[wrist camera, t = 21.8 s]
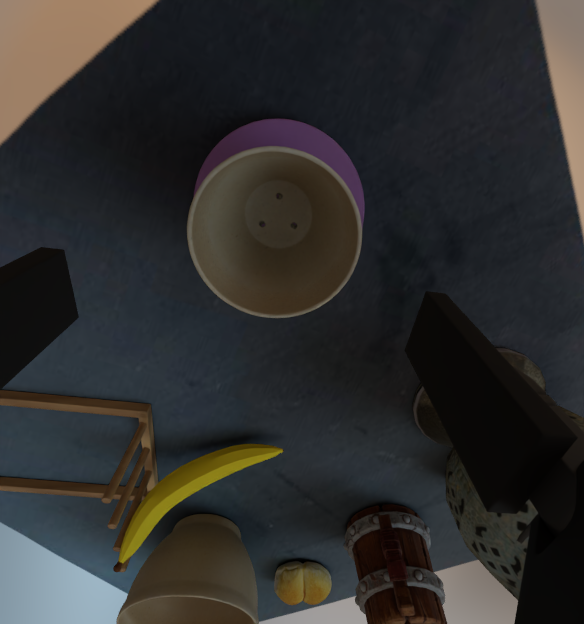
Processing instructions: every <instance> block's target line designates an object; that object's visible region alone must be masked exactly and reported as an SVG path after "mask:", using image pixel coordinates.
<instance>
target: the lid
mask: <svg viewBox="0 0 584 624" xmlns="http://www.w3.org/2000/svg"><path fill="white" fill-rule="evenodd" d="M263 146H281V147H288V148H293V149H297V150H300V151H303V152H306V153H308V154H311V155H313V156H314V157H316V158H318V159H320V160H321V161H323V162H324V163H326V164H327V165H328V166H330V167H331V168H332V169H333V170H334V171H335V172H336V173H337V174H338V175H339V176H340V177H341V178H342V179H343V181H344V182H345V183H346V185H347V186H348V188H349V189H350V191H351V193H352V195H353V197H354V199H355V202H356V204H357V207H358V210H359V213H360V218H361V225H362V226H363V220H364V194H363V190H362V185H361V181H360V179H359V176H358V173H357V171H356V169H355V167H354V165H353V163H352V161H351V159H350V158H349V157H348V155H347V154H346V153H345V151H344V150H343V149H342V148H341V147H340V146H339V145H338V144H337V142H336V141H334V140H333V139H332V138H331V137H329V136H328V135H327V134H326V133H324V132H322V131H320V130H319V129H317V128H315V127H313V126H311V125H308V124H306V123H303V122H299V121H295V120H290V119H278V118H277V119H264V120H260V121H256V122H252V123H249V124H247V125H244V126H242V127H240V128H238V129H236V130H235V131H233V132H231V133H230V134H228V135H227V136H226V137H225V138H223V139H222V140H221V141H220V142H219V143H218V144H217V145H216V146H215V147H214V148H213V149H212V151H211V152H210V154H209V155H208V157H207V158H206V159H205V161H204V163H203V165H202V167H201V169H200V172H199V175H198V178H197V181H196V185H195V190H194V196H195V194H196V192H197V190H198V188H199V186H200V185H201V183H202V182H203V180H204V179H205V178H206V177H207V175H208V174H209V173H210V172H211V171H212V170H213V169H214V168H215V167H216V166H218V165H219V164H220V163H222V162H223V161H225V160H226V159H228V158H229V157H231V156H233V155H235V154H237V153H239V152H242V151H245V150H248V149H252V148H257V147H263ZM278 197H279V195H278V194H277V198H278ZM293 224H294V225H296V224H295V223H293ZM261 226H262V227H263V226H265V224H262V225H261Z"/></svg>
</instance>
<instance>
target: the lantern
mask: <svg viewBox="0 0 584 624" xmlns="http://www.w3.org/2000/svg"><path fill="white" fill-rule="evenodd" d="M496 349H497V350H498V351H499V352H500V353H501V354H502V356H503V357H504V358H505V359H506V360H507V361H508V362H509V363H510V364H511V365H512V366H513V367H516V368H518V369H519V370H521V371H522V372H524V373H525V374H526V375H528V376H529V377H531V378H532V379H534V380H535V381H536V382H537V384H538V385H539V386H540V387H541V388H542V389H543V390H544V391H545V385H546V382H545V380H544V377H543V375H542V373H541V370H540V368H539V367H538V366H537V365H535V364H534V363H533V362H532V361H531V360H530V359H528V358H527V357H526V356H525V355H524V354H521V353H518V352H515V351H512V350H509V349H506V348H496ZM412 407H413V413H414V419H415V422H416V424H417V425H418V427H419V428H420V430H421V431H422V433H423V434H424V435H425V436H426V437H428V438H429V439H431V440H432V441H434V442H435V443H437V444H440V445H444V446H448V447H451V448H452V450H451V451H450V453H449V455H448V457H447V465H446V473H445V475H446V500H447V503H448V505H449V507H450V510H451V512H452V514H453V517H454V519H455V522H456V524H457V526H458V529H459V531H460V533H461V535H462V537H463V539H464V541H465V543H466V545H467V547H468V548H469V549H470V551H471V552H472V553H473V554H474V555H475V556H476V557H477V558H478V560H479V561H480V562H481V563H482V564H483V565H484V566H485V568H486V569H487V570H488V571H489V572H490V573H491V574H492V575H493V576H494V577H495V578H496V579H497V580H498V581H499V582H500V583H501V584H502V585H503V586H504V587H505V588H506V589H507V590H508V591H509V592H510V593H511V594H512V595H513V596H514V597H515V598H516V599H517V600H519V594H520V588H521V582H522V576H523V570H524V564H525V558H526V552H527V546H528V540H529V538H526V539H525V540H524V542H523V543H522V544H521V543H520V542H518V541H517V539H518V537H519V535H520V534H521V533H522V531H523V530H524V529H525V528H526V527H527V526H528V524H529V523H530V522H531V521H532V520H533V519H534V517H535V516H536V515H537V514H538V512H537V510H536V509H535V507H534V506H533V504H532V503H531V501H530V499H528V501H527V502H526V503H525V504H524V506H523V507H522V508H521V509H520V511H519V512H518V513H517V514H509V513H494V512H487V511H486V509H485V507H484V505H483V503H482V501H481V499H480V497H479V495H478V493H477V491H476V489H475V487H474V485H473V483H472V482H471V480H470V478H469V476H468V474H467V472H466V470H465V468H464V466H463V464H462V462H461V460H460V458H459V456H458V454H457V452H456V450H455V448H454V446H453V444H452V442H451V440H450V438H449V436H448V434H447V432H446V431H445V429H444V427H443V425H442V423H441V421H440V419H439V417H438V415H437V413H436V411H435V409H434V407H433V405H432V403H431V401H430V399H429V397H428V395H427V393H426V391H425V389H424V387H423V385H422V383H421V384H420V386H419V387H418V389H417V390H416V393H415V397H414V401H413V405H412ZM557 407H560V406H557ZM560 408H561V409H562V410H563V411H564V412H565V413H566V414H567V415H568V416H569V417H570V418H571V419H572V420H573V421H574V422H575V423H576V424H577V425H578V426H579V427H580V429H581V430H582V431H583V432H584V418H583V417H581V416H579V415H577V414H574V413H572V412H570V411H568V410H566V409H564V408H562V407H560Z"/></svg>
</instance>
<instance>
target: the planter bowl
mask: <svg viewBox="0 0 584 624" xmlns="http://www.w3.org/2000/svg"><path fill="white" fill-rule="evenodd" d="M117 624H259V622H258V614H257V586H256V579H255V574H254V569H253V566H252V563H251V560H250V557H249V555H248V552H247V550H246V548H245V546H244V545H243V543H242V541H241V533H240V530H239V528H238V527H237V526H236V525H235V524H234V523H233V522H232V521H230V520H228V519H226V518H224V517H221V516H218V515H212V514H196V515H191V516H188V517H185V518H183V519H182V520H180V521H179V522H178V523H177V524H176V525H175V527H174V529H173V531H172V533H171V534H169V535H168V536H167V537H166V538H165V539H164V540H163V541H162V542H161V543H160V544H159V545H158V546H157V547H156V548H155V550H154V551H153V552H152V553H151V554H150V556H149V557H148V559H147V560H146V561H145V563H144V564H143V566H142V567H141V569H140V571H139V573H138V574H137V576H136V578H135V580H134V582H133V584H132V586H131V589H130V591H129V594H128V596H127V599H126V601H125V603H124V604H123V606H122V608H121V610H120V612H119V615H118V617H117Z"/></svg>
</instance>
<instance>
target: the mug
mask: <svg viewBox="0 0 584 624" xmlns="http://www.w3.org/2000/svg"><path fill="white" fill-rule="evenodd" d="M345 542H346V543H344V549H345V550H347V551H348V554H349V556H350V557H351V558H352V559H353V560H354V561H355V565H356V570H357V574H358V579H359V583H358V585H357V588H356V594H357V596H356V598H355V602H356V604H357V605H359V607H360V610H361V611H362V612H363V613H364V614H366V618H367V622H368V624H447V621H446V618H445V614H444V610H443V607H442V605H443V604H444V602H445V594H444V590H443V583H442V581H441V580H440V579H439V578H438V577H437V575H436V574H435V573H433V569H432V565H431V561H430V557H429V553H428V549H429V547H430V535H429V527H428V526H426V525H425V523H424V522H423V521H422V520H421V518H420V517H419V516H418V514H417V513H414V511H413V510H411V509H409V508H407V507H405V506H399V505H394V504H388V505H382V508H380V507H379V506H378V505H377V506H373V507H369V508H366V509H364V510H362V511H360V512H358V513H357V514H356V515H354V516H353V517H352V518H351V521H349V523H348V526H347V532H346V535H345Z"/></svg>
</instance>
